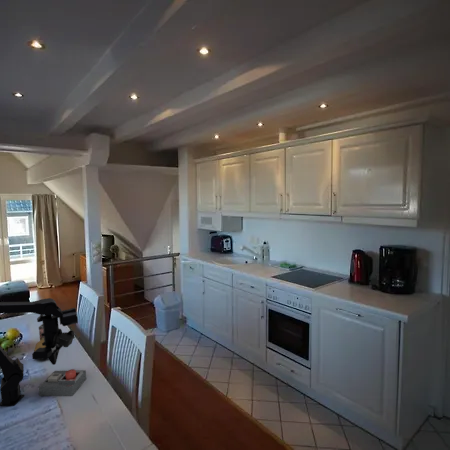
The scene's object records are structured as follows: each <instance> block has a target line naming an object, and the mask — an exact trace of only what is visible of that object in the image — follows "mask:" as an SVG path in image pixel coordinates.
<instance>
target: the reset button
mask: <svg viewBox="0 0 450 450" xmlns="http://www.w3.org/2000/svg"><path fill="white" fill-rule="evenodd" d="M65 371H66V373H65V375H66V380H74V379H75V378H76V369H75V368H72V369H68V370H65Z"/></svg>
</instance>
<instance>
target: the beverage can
mask: <svg viewBox="0 0 450 450" xmlns="http://www.w3.org/2000/svg"><path fill="white" fill-rule="evenodd" d="M38 330H39V331H38V332H39V333H38V334H39V341H40V340H43V339H44V336H41V334H42V333H43V323H42V324H40V325H39V326H38Z"/></svg>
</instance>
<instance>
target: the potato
mask: <svg viewBox="0 0 450 450" xmlns="http://www.w3.org/2000/svg"><path fill="white" fill-rule="evenodd" d="M43 342H44V339H43V340H40V339H39V341H37V343H36V345H35V347H34V350H33V351H36V350H37V349H38V348H45V347H46V346H42V343H43Z"/></svg>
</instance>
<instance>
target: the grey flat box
mask: <svg viewBox="0 0 450 450" xmlns="http://www.w3.org/2000/svg"><path fill="white" fill-rule="evenodd" d="M75 370H76V369H75ZM66 371H67V370H54V371H53V372H52V373H51V374H50V375H49V376H48V377H46V379H45V380H44V381H43V382H42V383H41V384H39V386H37V387H38V397H62V396H63V397H67V396H70V397H71V396H72V397H73V396H74V394H76V392H77V391H78V390H79V389H80V387H81V386H82V385H83V384H84V382H85V381H86V380H87V371H86V369H85V370H83V369H82V370H78V369H77V370H76V378H75V379H74V380H66V375H65V373H66ZM61 373H62V377H61V378H60V380H59V381H58V382H48V378H49V377H50V376H51V375H52V374H61Z"/></svg>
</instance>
